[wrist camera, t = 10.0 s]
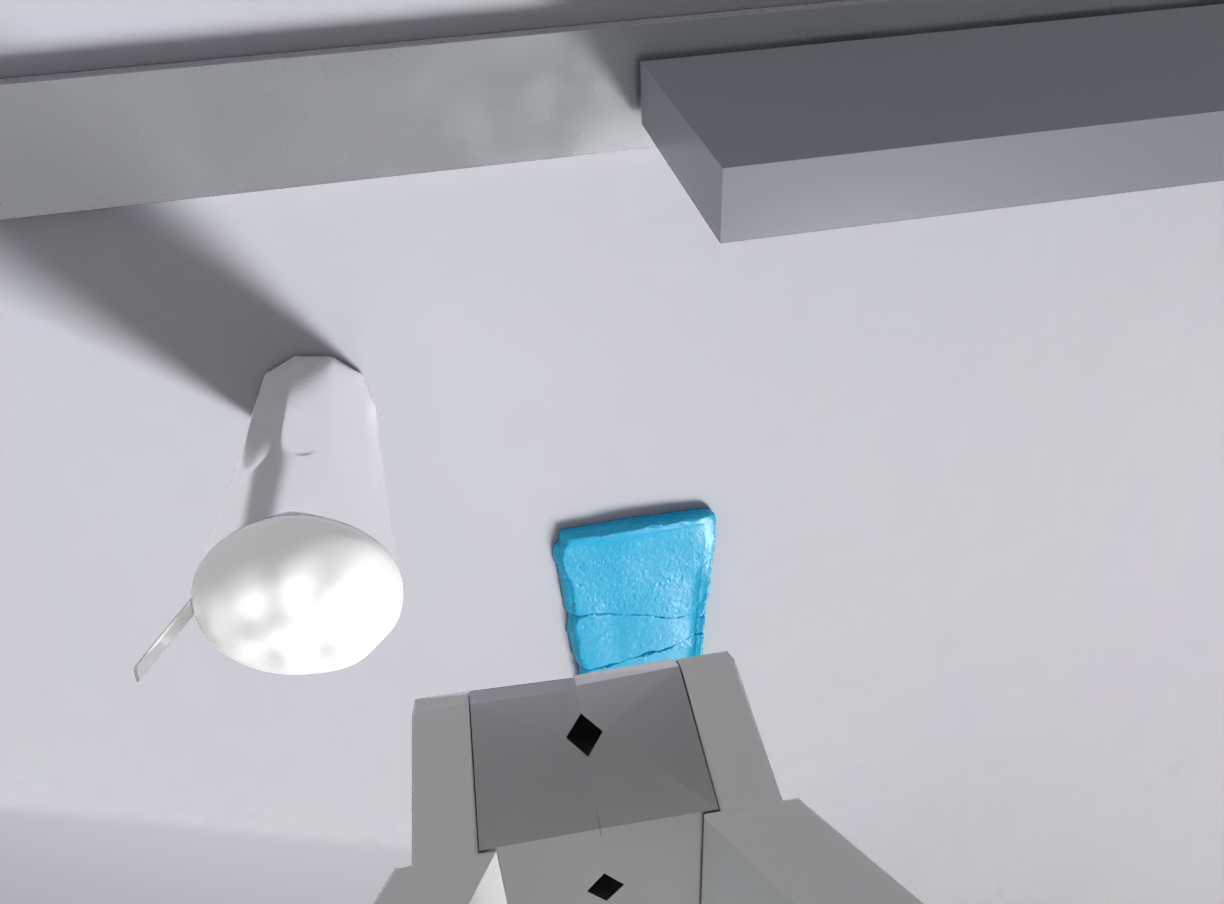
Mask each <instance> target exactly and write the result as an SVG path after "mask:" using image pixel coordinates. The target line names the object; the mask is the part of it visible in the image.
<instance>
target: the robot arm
mask: <svg viewBox="0 0 1224 904" xmlns="http://www.w3.org/2000/svg"><path fill="white" fill-rule="evenodd" d="M573 677H574V678H567V679H559V680H552V681H544V682H537V683H529V684H521V685H514V686H506V687H498V688H491V689H483V690H475V691H468V692H462V693H455V694H448V695H441V696H434V697H428V698H421V699H415V704H414V709H413V713H412V865H409V866H404V867H399V868H395V869H394V871H393V873H392V874H391V876H390V878H389V879H388V881H387V882H386V884H385V886H384V887H383V889H382V891H381V892H380V894H379V895H378V897H377V899H376V900H375V902H374V904H923V903H922V902H921V901H920V900H919V899H917V898H916V897H915V896H914V895H913V894H911V893H910V892H909V891H908V890H907V889H905V888H904V887H903V886H902V885H901V884H900V883H898V882H897V881H896V880H895V879H894V878H892V877H891V876H890V875H889V874H888V873H886V872H885V871H884V870H883V869H882V868H881V867H879V866H878V865H877V864H876V863H875V862H873V861H872V860H871V859H870V858H869V857H867V856H866V855H865V854H864V853H863V852H862V851H860V850H859V849H858V848H857V847H856V846H854V845H853V844H852V843H851V842H850V841H848V840H847V839H846V838H845V837H844V836H842V835H841V834H840V833H839V832H838V831H837V830H835V829H834V828H833V827H832V826H831V825H829V824H828V823H827V822H826V821H825V820H823V819H822V818H821V817H820V816H819V815H818V814H816V813H815V812H814V811H813V810H812V809H810V808H809V807H808V806H807V805H806V804H804V803H803V802H802V801H801V800H800V799H799V798H797V799H789V800H782V798H781V795H780V792H779V789H778V786H777V783H776V780H775V777H774V774H773V771H772V769H771V766H770V763H769V760H768V757H767V754H766V751H765V748H764V745H763V742H762V739H761V737H760V734H759V731H758V728H757V725H756V722H755V719H754V716H753V713H752V710H751V707H750V704H749V702H748V699H747V696H746V693H745V690H744V687H743V684H742V681H741V678H740V675H739V672H738V670H737V667H736V664H735V661H734V659H733V658H732V657H731V655H730V654H729V653H728V652H727V651H724V652H718V653H712V654H706V655H700V656H693V657H687V658H681V659H677V660H676V661H675V660H674V659H667V660H661V661H656V662H650V663H644V664H638V665H632V666H626V667H621V668H615V669H609V670H603V671H597V672H591V673H585V674H580V675H574V676H573Z"/></svg>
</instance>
